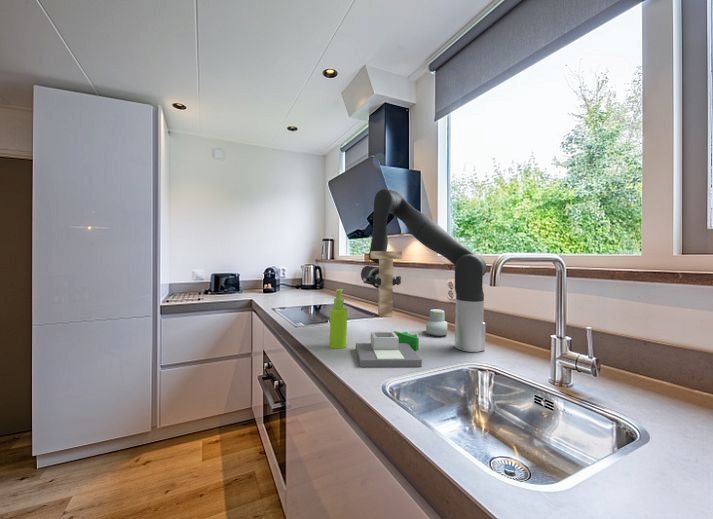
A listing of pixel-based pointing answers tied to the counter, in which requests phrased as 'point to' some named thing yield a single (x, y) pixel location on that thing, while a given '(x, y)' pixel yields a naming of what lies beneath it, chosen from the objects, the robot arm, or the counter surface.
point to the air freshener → (436, 323)
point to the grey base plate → (386, 352)
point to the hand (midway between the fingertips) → (387, 282)
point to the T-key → (385, 280)
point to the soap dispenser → (338, 323)
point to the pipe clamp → (408, 339)
